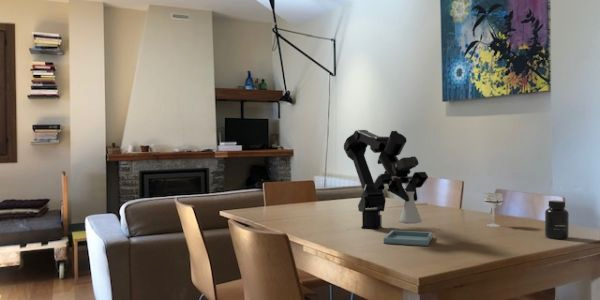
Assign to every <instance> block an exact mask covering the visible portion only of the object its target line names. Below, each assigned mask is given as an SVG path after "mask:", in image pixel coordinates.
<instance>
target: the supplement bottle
mask: <svg viewBox="0 0 600 300" xmlns="http://www.w3.org/2000/svg"><path fill="white" fill-rule="evenodd" d="M547 206H548V208H547V209H545V212H544V236H545V237H546V238H547V239H553V240H568V238H569V233H570V232H569V227H570V222H569V221H570V220H569V219H570V217H569V216H570V214H569V211H568V210H567V209H566V201H565V200H564V201H563V200H548V205H547Z"/></svg>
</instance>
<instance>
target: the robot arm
mask: <svg viewBox="0 0 600 300" xmlns="http://www.w3.org/2000/svg"><path fill="white" fill-rule="evenodd" d="M406 144H407V137H406V136H404V135H403V134H402V133H400V132H398V131H397V130H391V131H390V133H389V136H379V135H377V134H374V133H372V132H370V131H369V130H367V129H357V130H355V131H354V132H353V133H352V134H351V135H349V136H348V137H347V138H346V139H345V141H344V143H343V150H344V152H345V154H346V156H347V157H348V158H349V159H350V160H352V162H353V164H354V167H355V170H356V173H357V176H358V178H359V179H358V180H359V183H360V186H361V188H362V193H361V195H360V200H359V203H358V205H357V207H358V211H359V212H361V214H362V217H361V218H362V220H361V221H362V226H361V227H360V228H361V229H374V230H378V229H380V228H381V227H382V226H383V221H382V219H383V216H382V214H381V212H384V211H385V209H386V206H385V205H386V201H387V200H386V196H385V193H384V192H383V191H384V189H386V188H385V185H387V186H388V188H387V189H386V190H387V192H389V193H392V194H394V195H395V196H397V197H399V198H400V199H402V200H404V202H405V201H407V202H408V201H409V198H408V195H407V193H406V192H408V191H409V192H415V193H414V201H415V202H417V201H418V193H417V189H418V188H421V187H423V185H424V184H425V182H427V180H428V178H429V175H428V174H427V173H426V171H415V172H414V173H413V174H412V175H410V174H411V169H413V168H416V167H417V166H418V165H419V160H418V158H417V157H416V156H409V157H402V158H400V159H399V158H398V156H400V155H401V154H402V151H403V149H404V147H405V145H406ZM368 146H369V149H370V150H371V151H372V152H373V153H374V154H379V156H378V159H377V165H381V166H382V167H383V168H384V170H385V171H384V172H383V173H379V174H378V175H377V178H376V179H375V181H374V179H373V176H372V173H371V171H370V168H369V165H368V162H367V159H366V156H365V155H366V151H367V147H368ZM403 184H404V185H405V188H404V186H403Z"/></svg>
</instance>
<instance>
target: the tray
mask: <svg viewBox="0 0 600 300" xmlns="http://www.w3.org/2000/svg"><path fill="white" fill-rule="evenodd" d="M432 240H433V232H429V231H412V230H411V231H410V230H408V231H407V230H394V229H392V230H391V231H389V233H388V234H386V235H385V236H384V237H383V244H384V245H385V244H386V245H387V244H388V245H398V246H399V245H402V246H412V247H413V246H414V247H429V245H430V243H431V241H432Z"/></svg>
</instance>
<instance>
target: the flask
mask: <svg viewBox="0 0 600 300" xmlns="http://www.w3.org/2000/svg"><path fill="white" fill-rule="evenodd" d="M405 192H406V191H405ZM406 193H407V195H408V198H409V201H408V202H407V201H405V200H404V204H403V208H402V211H401V215H400V216H399V219H398V223H402V224H421V223H422V222H423V221H422V218H421V215H420V214H419V213H420V212H419V211H418V207H417V206H416V203H415V202H416V201H415V200H414V193H415V192H409V191H408V192H406Z"/></svg>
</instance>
